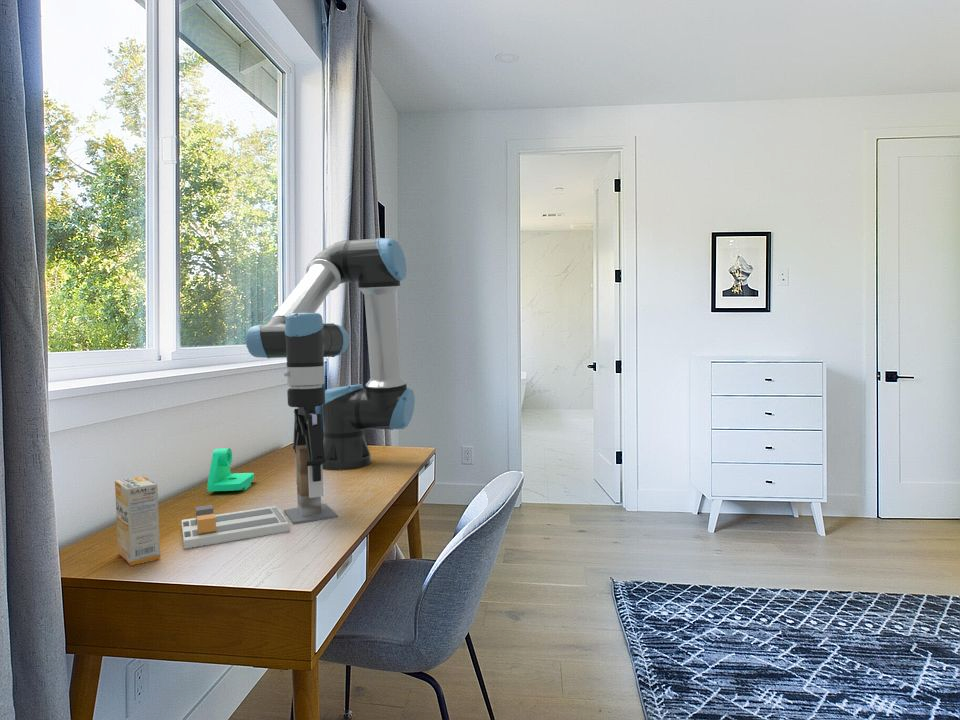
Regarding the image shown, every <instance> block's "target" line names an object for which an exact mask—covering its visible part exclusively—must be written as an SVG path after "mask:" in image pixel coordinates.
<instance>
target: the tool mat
mask: <svg viewBox="0 0 960 720" xmlns="http://www.w3.org/2000/svg"><path fill="white" fill-rule="evenodd" d="M321 512H322V513H320V514H314V515H307V516H301V515H300V513H299V512H298V507H295V508H288V509H283V513H284V515H286V516H287V518H288V519H289V521H290V522H291V524H292V525H297V524H302V523H309V522H315V521H321V520H327V519H333V518H338V517H339V515H338V514H337V513H336V511H334V510H333V509H332V508H331V507H330V506H329V505H328V504H327V503H321Z"/></svg>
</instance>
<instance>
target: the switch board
mask: <svg viewBox="0 0 960 720" xmlns="http://www.w3.org/2000/svg"><path fill="white" fill-rule="evenodd" d="M215 517H216V531H213V532H207V533H201V534H198V530H197V522H196V517H192V518H187V519H186V518H185V519H181V532H182V541H183V549H184V550H185V549H186V548H187V549H193V548H198V547H197V546H199V547H204V545H205V546H208V545H216V544H217V545H218V544H222V543H227V542H234V541H240V540H244V539H250V538H257V537H262V536H263V537H264V536H268V535H273V534H274V535H275V534H281V533H286V532H289V531H290V523H289V521H288V520H287V519H286V517H285V516H284V514H282V512H281V510H280V509H279V508H278V506H277V505H273V506H267V507H260V508H253V509H252V508H251V509H247V510H240V511H233V512H227V513H226V512H225V513H220V514H215ZM192 547H193V548H192Z"/></svg>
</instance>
